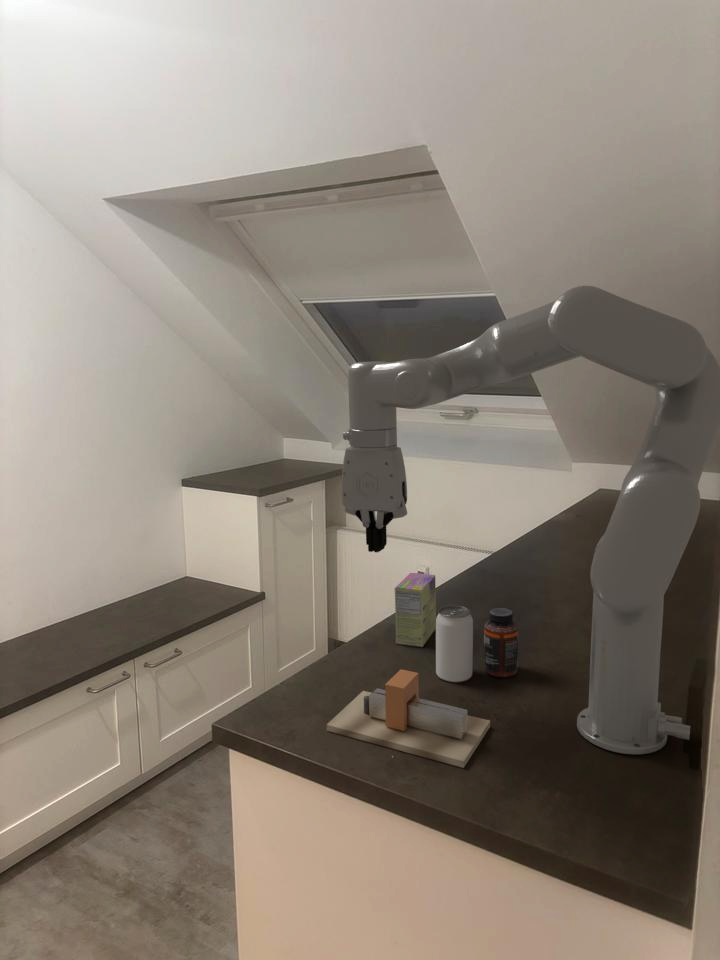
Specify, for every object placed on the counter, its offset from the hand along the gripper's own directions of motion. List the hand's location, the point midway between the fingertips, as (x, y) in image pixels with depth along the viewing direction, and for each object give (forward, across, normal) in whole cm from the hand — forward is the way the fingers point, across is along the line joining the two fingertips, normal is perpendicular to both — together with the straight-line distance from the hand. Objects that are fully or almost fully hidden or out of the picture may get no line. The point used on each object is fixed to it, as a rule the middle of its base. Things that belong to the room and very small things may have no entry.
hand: (376, 549), depth 113 cm
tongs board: (+25, +9, -10) cm, 28 cm away
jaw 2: (+24, +11, -9) cm, 27 cm away
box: (+25, -3, +24) cm, 35 cm away
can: (+25, +10, +10) cm, 29 cm away
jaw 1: (+24, +10, -10) cm, 28 cm away
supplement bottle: (+25, +17, +15) cm, 34 cm away
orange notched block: (+24, +8, -10) cm, 27 cm away
